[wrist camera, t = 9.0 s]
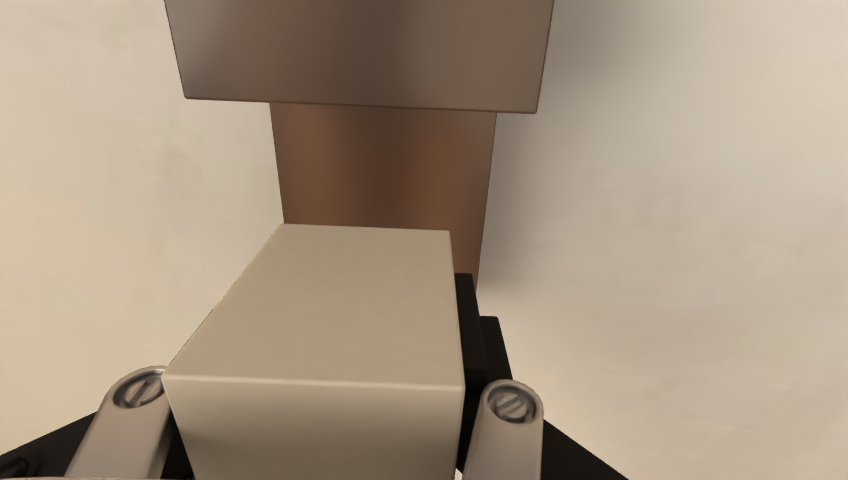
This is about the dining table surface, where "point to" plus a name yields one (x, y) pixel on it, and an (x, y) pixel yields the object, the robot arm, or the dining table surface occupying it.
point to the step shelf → (373, 100)
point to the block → (327, 362)
